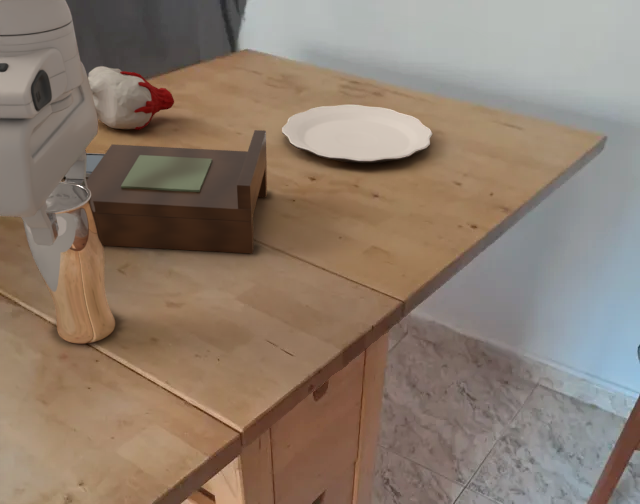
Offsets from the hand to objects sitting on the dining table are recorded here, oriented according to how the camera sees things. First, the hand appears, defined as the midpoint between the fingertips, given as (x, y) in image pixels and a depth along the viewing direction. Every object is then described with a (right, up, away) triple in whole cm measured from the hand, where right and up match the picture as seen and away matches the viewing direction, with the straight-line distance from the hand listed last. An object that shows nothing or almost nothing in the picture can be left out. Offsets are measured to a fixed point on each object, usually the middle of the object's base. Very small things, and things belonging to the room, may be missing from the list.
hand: (63, 218), depth 66 cm
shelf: (+6, +9, +28) cm, 30 cm away
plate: (+31, +28, +51) cm, 66 cm away
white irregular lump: (-8, +32, +53) cm, 62 cm away
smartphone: (-10, +19, +39) cm, 44 cm away
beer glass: (-1, -9, +9) cm, 13 cm away
